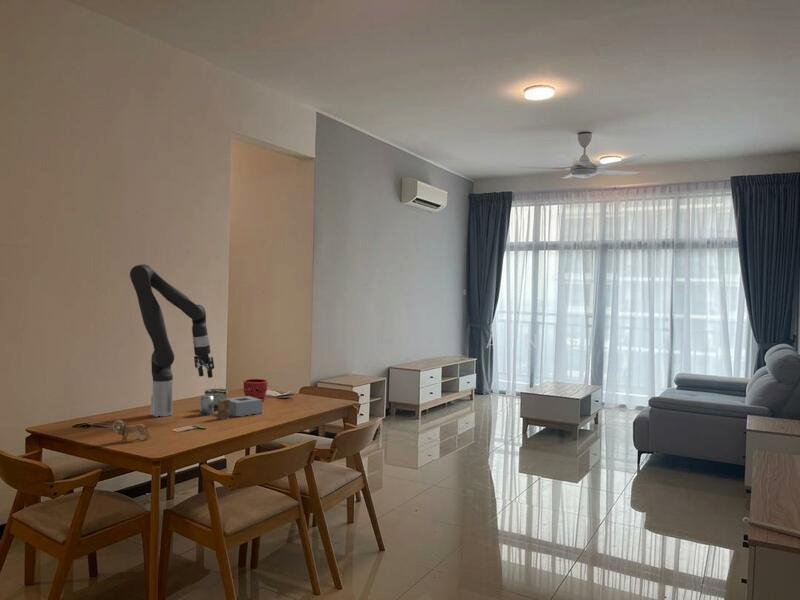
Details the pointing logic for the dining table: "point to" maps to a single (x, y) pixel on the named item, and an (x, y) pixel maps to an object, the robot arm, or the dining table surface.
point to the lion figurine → (129, 429)
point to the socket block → (245, 406)
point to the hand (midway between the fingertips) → (205, 376)
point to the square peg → (223, 408)
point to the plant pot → (255, 388)
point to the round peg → (206, 404)
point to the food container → (217, 395)
